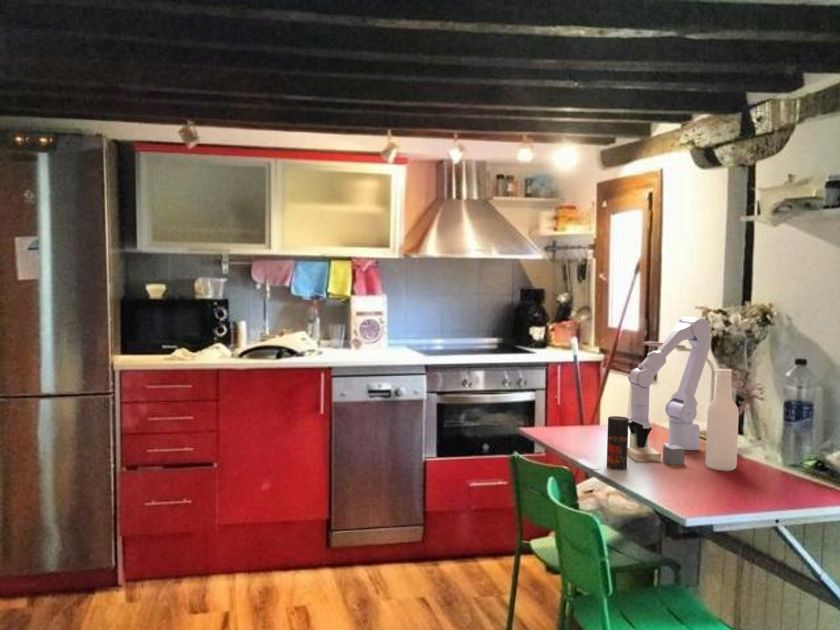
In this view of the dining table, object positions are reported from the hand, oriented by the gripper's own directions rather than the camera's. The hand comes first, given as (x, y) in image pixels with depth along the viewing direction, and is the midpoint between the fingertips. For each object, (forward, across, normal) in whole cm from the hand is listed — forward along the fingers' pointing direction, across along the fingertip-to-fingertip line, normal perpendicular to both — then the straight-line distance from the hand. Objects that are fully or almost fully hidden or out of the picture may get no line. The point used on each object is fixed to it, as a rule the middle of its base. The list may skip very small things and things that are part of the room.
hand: (638, 445), depth 252 cm
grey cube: (+2, +16, +6) cm, 17 cm away
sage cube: (+1, 0, 0) cm, 1 cm away
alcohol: (+2, +22, +18) cm, 28 cm away
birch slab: (+1, +11, -2) cm, 11 cm away
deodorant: (+2, +22, -14) cm, 26 cm away
